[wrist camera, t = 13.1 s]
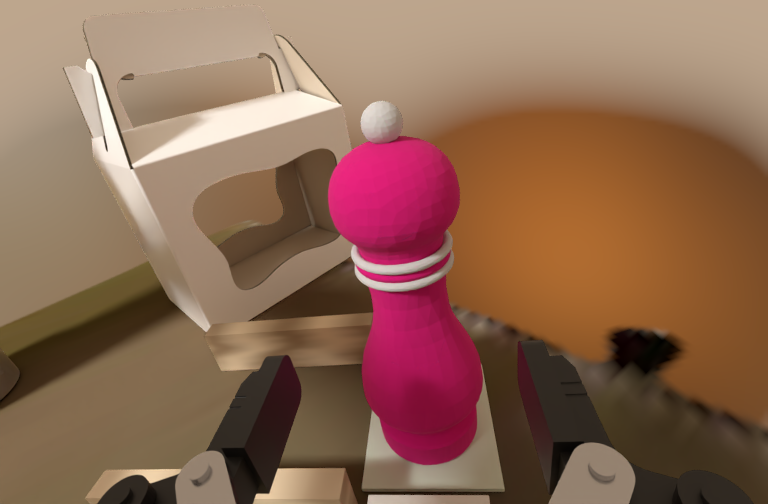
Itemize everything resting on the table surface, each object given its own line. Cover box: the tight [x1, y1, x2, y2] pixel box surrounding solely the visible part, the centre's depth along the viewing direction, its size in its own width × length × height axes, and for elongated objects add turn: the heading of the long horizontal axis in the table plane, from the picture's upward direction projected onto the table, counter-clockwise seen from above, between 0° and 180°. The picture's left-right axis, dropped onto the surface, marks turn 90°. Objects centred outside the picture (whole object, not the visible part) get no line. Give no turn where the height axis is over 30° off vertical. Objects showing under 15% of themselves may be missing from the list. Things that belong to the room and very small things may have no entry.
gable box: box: [63, 4, 354, 332], centre depth 40 cm, size 22×13×28 cm, turn 137°
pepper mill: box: [328, 101, 483, 465], centre depth 20 cm, size 7×7×20 cm
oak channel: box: [85, 312, 373, 504], centre depth 26 cm, size 14×14×4 cm
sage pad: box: [362, 364, 505, 492], centre depth 25 cm, size 8×9×1 cm
